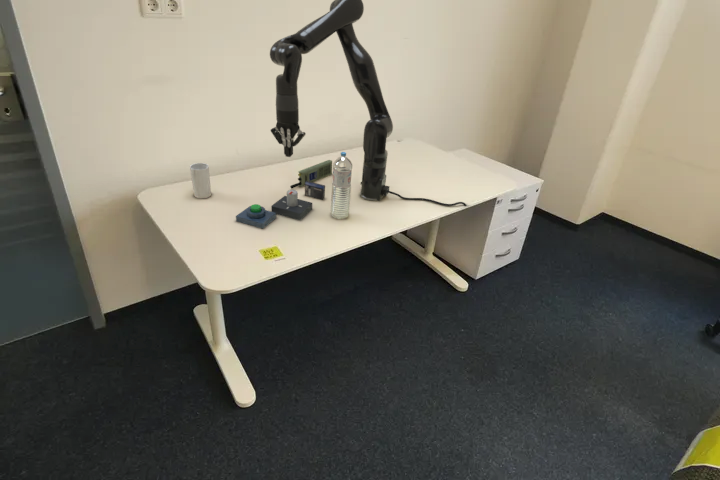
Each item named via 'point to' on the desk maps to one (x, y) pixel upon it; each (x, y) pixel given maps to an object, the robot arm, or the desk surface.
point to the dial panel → (292, 208)
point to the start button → (255, 208)
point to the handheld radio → (314, 173)
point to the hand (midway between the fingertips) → (288, 156)
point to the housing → (256, 217)
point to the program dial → (292, 198)
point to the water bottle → (341, 187)
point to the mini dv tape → (314, 190)
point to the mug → (200, 180)
